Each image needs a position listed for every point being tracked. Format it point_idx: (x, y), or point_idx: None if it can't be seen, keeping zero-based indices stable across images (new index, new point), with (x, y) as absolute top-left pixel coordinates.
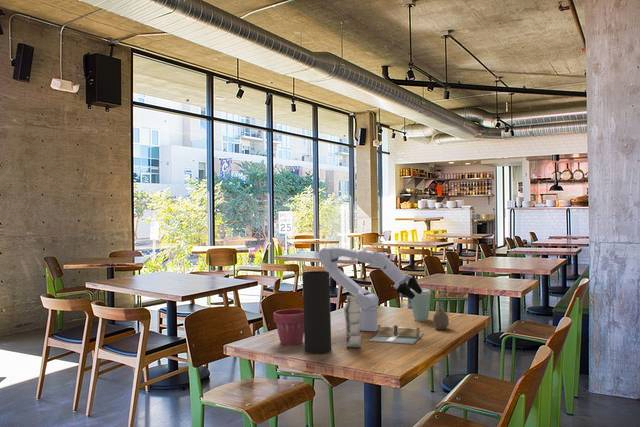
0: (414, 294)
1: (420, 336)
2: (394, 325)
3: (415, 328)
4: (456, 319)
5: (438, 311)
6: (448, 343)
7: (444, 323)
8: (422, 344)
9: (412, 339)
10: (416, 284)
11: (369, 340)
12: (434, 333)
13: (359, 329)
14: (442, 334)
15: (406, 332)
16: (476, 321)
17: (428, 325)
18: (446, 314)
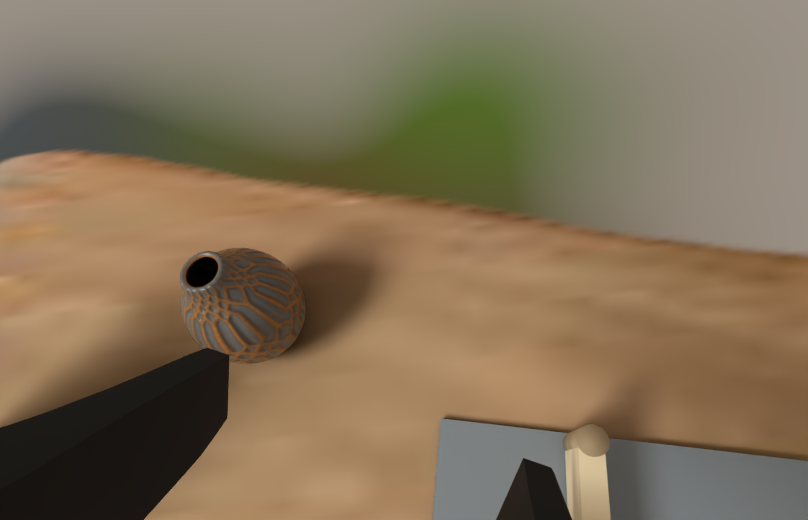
0: (529, 474)
1: (540, 430)
2: None
3: (596, 462)
4: (33, 270)
5: (229, 290)
6: (648, 242)
7: (298, 282)
8: (756, 389)
9: (674, 481)
10: (64, 464)
11: None
12: (405, 349)
13: None
14: (425, 299)
15: None
16: (106, 178)
17: None
18: (238, 248)
